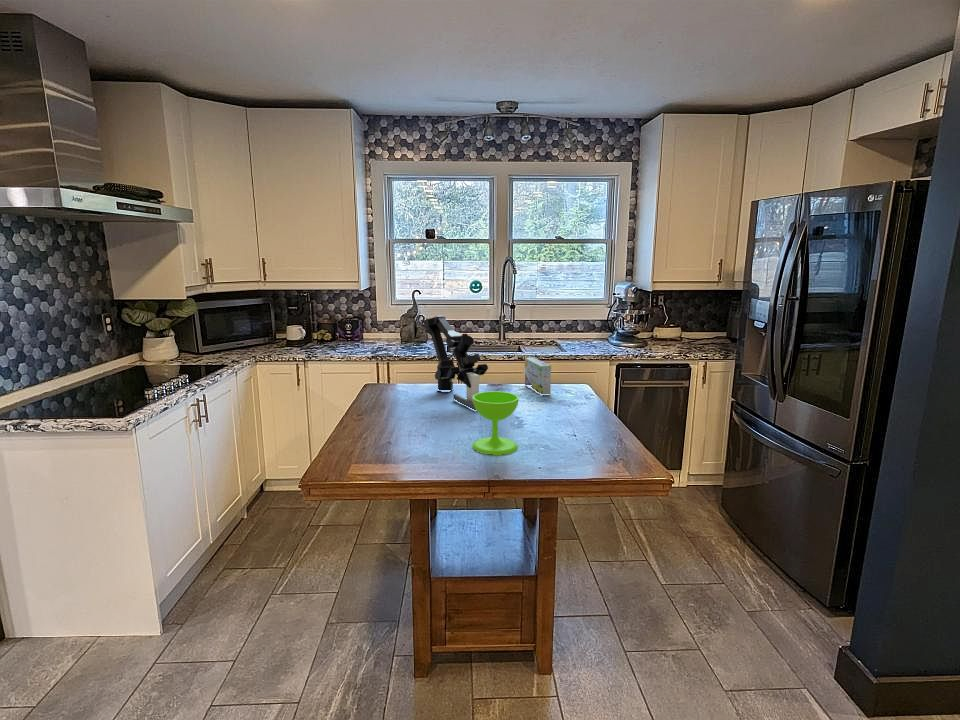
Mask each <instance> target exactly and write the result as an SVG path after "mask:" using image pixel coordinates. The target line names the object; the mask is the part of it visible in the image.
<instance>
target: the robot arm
mask: <svg viewBox="0 0 960 720" xmlns="http://www.w3.org/2000/svg"><path fill="white" fill-rule="evenodd" d="M423 326H424V328H425V330H426V333H427V334H428V335H430V336H431V338H432V339H431V340H432V343H433V347H434V349H435V354H436V357H437V360H438V363H437V365H436V367H437V370H436V371H435V374H434V377H435V378H434V379H435V380H437V390H438V389H439V390H452V389H453V390H454V382H453V380H455V379H456V380H459V381H460V382H461V383H463V384H464V385H465V386H466V387H467V386H468V387H469V388H471V384H470V382H469V380H468V377H467V374H469V373H475V374H477V375H479V376H483V375H485V374H486V373H487V371H488V369H489V366H488V364H487V363H480V364H479V361H481V356H480V354H479V353H475V354H473V355H469V354H468V352H469V351H470V350H471V348H472V346H473V345H474V342H475V341H474V338H473V337H472V336H471V335H468V333H462V334H461V333H460V332H458V331H455V330H454V328H452V325H451V324H450V323H449V321H447V319H446V316H445V315H436V316H433V317H429V318H428V317H427V318H425V320H424V321H423ZM442 334H443V335H444V337H445V343H446V345H447V347H448V348H449V349H452V348H453V350H452V353H451V355H452V357H455V360H456V366H455V363H454V360H453V359H450V358H449V356H448V353H447V350H446V346H445V343H444V339H443V337H442ZM476 363H478V364H477V366H476V367H475V365H476Z"/></svg>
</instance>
